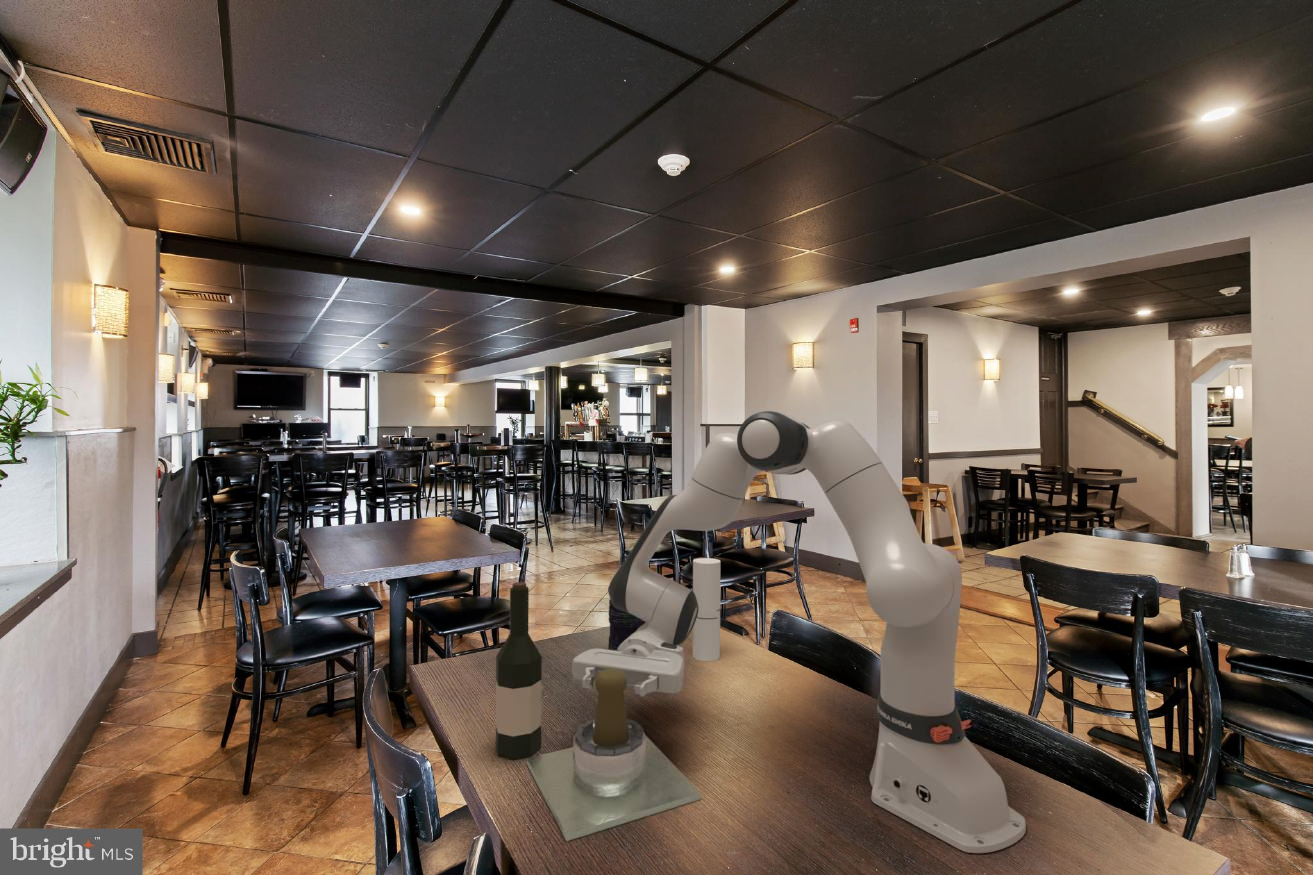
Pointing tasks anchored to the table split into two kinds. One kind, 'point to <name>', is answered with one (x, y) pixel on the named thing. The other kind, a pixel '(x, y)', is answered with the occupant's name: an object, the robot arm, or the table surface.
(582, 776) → the duct stub
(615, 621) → the storage jar
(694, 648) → the cylindrical container
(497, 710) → the wine bottle
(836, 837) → the table surface
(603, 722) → the cork
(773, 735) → the table surface
